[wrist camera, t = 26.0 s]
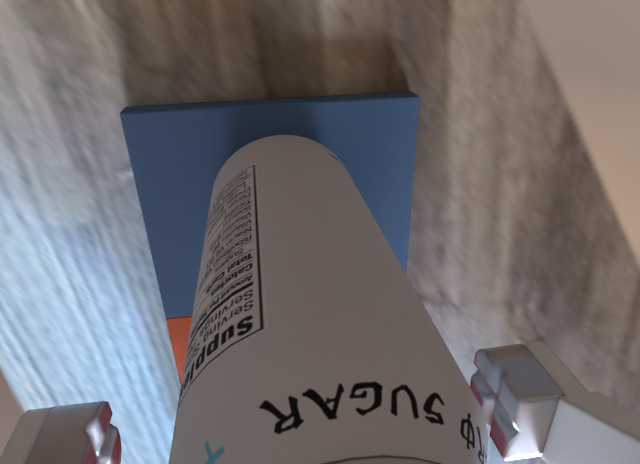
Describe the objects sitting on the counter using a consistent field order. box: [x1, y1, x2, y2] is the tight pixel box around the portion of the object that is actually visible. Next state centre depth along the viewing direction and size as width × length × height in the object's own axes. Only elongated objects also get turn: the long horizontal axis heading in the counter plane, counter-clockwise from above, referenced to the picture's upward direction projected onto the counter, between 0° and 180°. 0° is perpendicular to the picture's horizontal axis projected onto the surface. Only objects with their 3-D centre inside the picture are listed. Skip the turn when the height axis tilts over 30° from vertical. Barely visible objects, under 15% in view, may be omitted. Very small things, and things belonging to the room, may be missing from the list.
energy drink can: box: [169, 135, 488, 464], centre depth 14 cm, size 6×6×15 cm
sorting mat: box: [120, 91, 419, 383], centre depth 24 cm, size 12×20×1 cm, turn 1°
